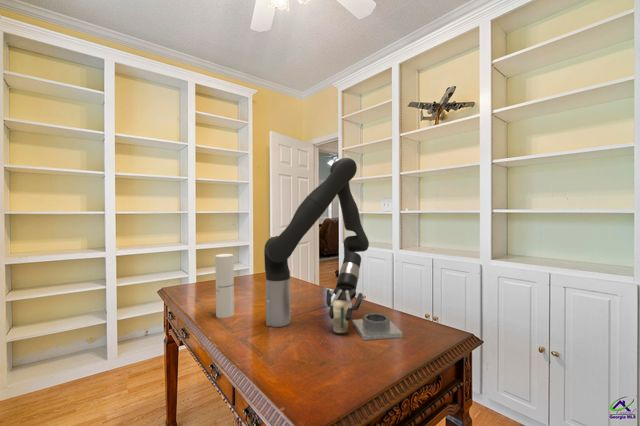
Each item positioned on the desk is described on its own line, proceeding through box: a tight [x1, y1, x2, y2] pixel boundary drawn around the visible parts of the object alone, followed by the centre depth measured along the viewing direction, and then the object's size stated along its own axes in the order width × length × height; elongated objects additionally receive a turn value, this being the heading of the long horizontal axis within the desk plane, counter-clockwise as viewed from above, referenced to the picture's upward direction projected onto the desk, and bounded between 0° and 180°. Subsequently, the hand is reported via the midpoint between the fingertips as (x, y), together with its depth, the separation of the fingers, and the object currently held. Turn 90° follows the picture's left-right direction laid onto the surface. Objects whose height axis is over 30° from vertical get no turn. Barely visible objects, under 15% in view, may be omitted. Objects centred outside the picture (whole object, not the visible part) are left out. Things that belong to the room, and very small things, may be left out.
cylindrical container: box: [214, 253, 235, 319], centre depth 122 cm, size 7×7×25 cm
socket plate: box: [351, 312, 404, 341], centre depth 105 cm, size 14×14×4 cm
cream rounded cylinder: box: [332, 300, 349, 334], centre depth 103 cm, size 5×5×10 cm
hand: (339, 318), depth 102 cm, fingers closed on cream rounded cylinder, 5 cm apart
